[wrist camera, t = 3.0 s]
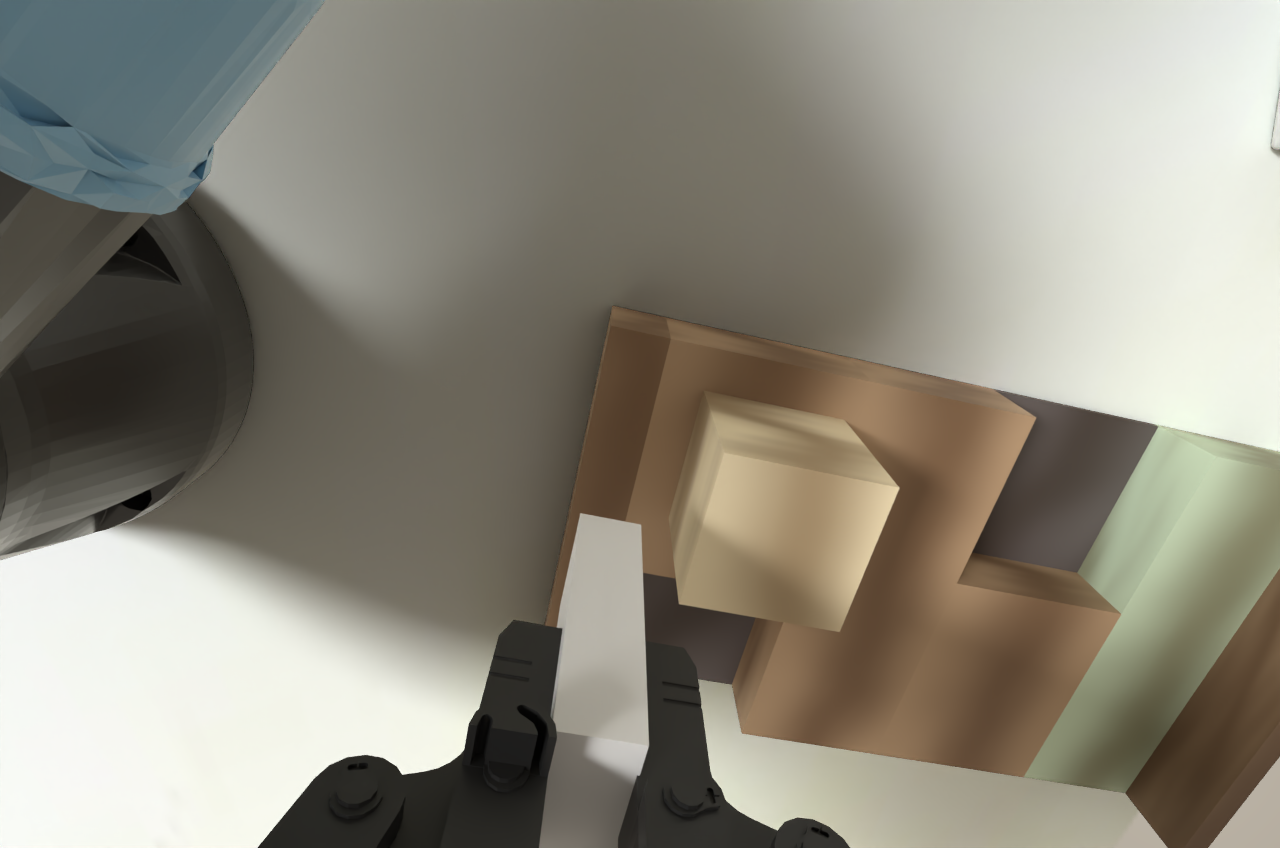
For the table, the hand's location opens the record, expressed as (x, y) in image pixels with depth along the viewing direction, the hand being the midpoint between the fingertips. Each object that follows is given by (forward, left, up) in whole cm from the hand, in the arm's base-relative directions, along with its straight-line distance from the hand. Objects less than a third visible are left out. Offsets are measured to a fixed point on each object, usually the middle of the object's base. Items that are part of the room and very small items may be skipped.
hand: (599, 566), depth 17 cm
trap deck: (+13, -4, -10) cm, 17 cm away
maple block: (+5, 0, -7) cm, 9 cm away
